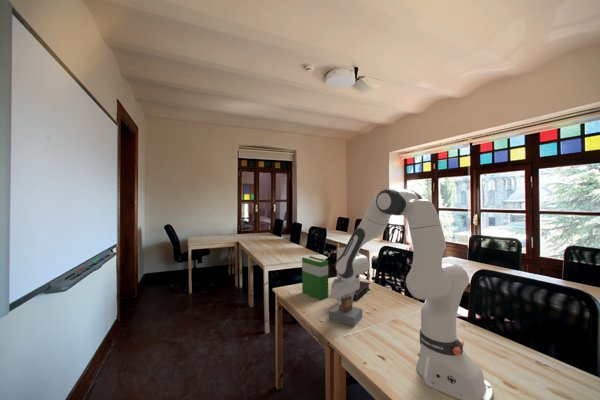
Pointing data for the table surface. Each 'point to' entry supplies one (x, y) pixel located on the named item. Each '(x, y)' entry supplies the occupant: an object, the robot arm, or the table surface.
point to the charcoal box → (345, 315)
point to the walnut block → (346, 304)
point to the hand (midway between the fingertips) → (345, 301)
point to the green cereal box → (315, 277)
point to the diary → (361, 290)
